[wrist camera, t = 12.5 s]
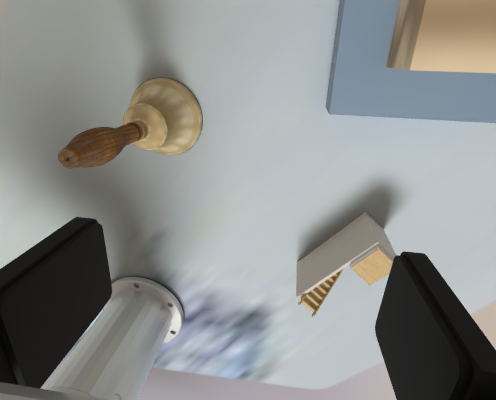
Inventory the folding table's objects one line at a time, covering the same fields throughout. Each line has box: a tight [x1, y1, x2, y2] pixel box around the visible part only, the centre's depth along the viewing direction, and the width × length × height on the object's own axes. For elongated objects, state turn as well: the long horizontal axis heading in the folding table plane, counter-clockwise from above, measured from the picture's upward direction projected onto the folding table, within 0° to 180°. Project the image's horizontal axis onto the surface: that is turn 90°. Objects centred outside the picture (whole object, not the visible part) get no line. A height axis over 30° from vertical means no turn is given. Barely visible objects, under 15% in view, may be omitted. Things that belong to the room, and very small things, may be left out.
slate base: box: [326, 0, 496, 123], centre depth 25 cm, size 14×14×4 cm
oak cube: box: [386, 0, 496, 73], centre depth 21 cm, size 6×6×6 cm
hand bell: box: [58, 78, 202, 168], centre depth 27 cm, size 8×8×16 cm
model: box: [296, 212, 396, 317], centre depth 34 cm, size 3×11×8 cm, turn 137°
